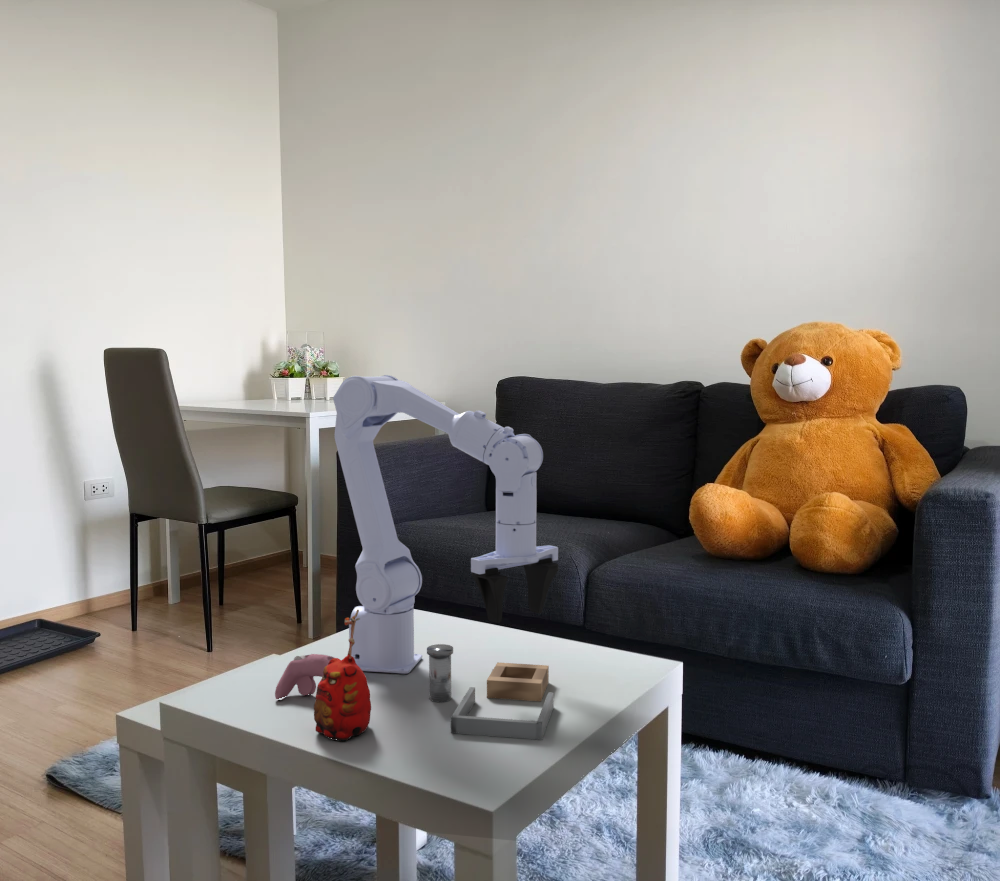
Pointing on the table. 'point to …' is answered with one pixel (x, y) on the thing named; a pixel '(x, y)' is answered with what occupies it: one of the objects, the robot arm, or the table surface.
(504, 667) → the wooden square frame
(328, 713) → the red clay folk toy
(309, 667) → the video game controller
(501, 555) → the robot arm
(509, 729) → the grey u-shaped bracket
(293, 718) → the table surface
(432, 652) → the silver cylindrical piece
